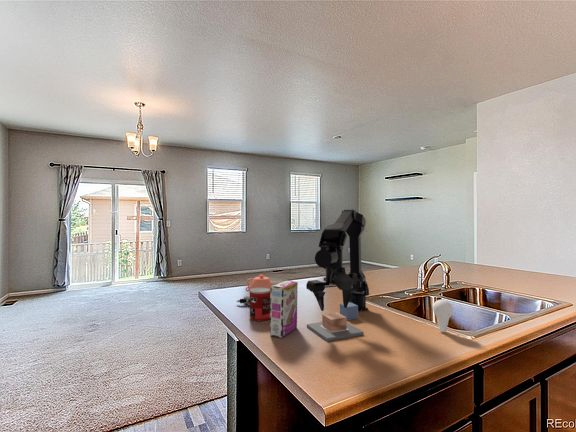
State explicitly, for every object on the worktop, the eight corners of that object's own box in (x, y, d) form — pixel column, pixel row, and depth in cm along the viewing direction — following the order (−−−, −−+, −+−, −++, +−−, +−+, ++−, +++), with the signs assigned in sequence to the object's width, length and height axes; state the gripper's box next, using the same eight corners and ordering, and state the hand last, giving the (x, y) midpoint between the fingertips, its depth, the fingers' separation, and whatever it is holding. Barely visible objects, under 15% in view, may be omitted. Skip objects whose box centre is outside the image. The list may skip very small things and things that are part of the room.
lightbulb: (445, 336, 101) (445, 303, 101) (428, 330, 107) (428, 298, 107) (457, 333, 104) (457, 300, 104) (440, 327, 110) (440, 296, 110)
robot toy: (234, 307, 137) (260, 311, 128) (234, 297, 137) (260, 300, 128) (253, 301, 147) (278, 304, 138) (253, 292, 147) (278, 294, 138)
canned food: (249, 315, 124) (249, 287, 124) (270, 314, 124) (270, 287, 124) (249, 321, 116) (249, 292, 116) (270, 321, 117) (270, 291, 117)
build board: (340, 321, 116) (340, 318, 116) (363, 334, 103) (363, 331, 103) (306, 327, 110) (306, 323, 110) (327, 341, 98) (327, 338, 98)
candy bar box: (283, 339, 100) (283, 287, 100) (269, 336, 102) (269, 286, 102) (298, 327, 110) (298, 281, 110) (285, 325, 112) (285, 279, 112)
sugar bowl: (272, 298, 149) (273, 277, 149) (243, 298, 149) (243, 277, 149) (274, 292, 161) (274, 272, 161) (247, 292, 161) (247, 272, 161)
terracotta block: (337, 323, 111) (337, 312, 111) (346, 329, 105) (346, 317, 105) (322, 325, 108) (322, 314, 108) (331, 331, 103) (331, 319, 103)
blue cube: (350, 314, 124) (350, 302, 124) (358, 318, 120) (358, 305, 120) (339, 316, 122) (339, 303, 122) (347, 320, 118) (347, 307, 118)
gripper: (322, 269, 96) (322, 319, 95) (371, 265, 103) (371, 312, 103) (305, 264, 106) (305, 310, 106) (351, 260, 113) (351, 303, 113)
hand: (334, 309), depth 107 cm, fingers open, 9 cm apart
